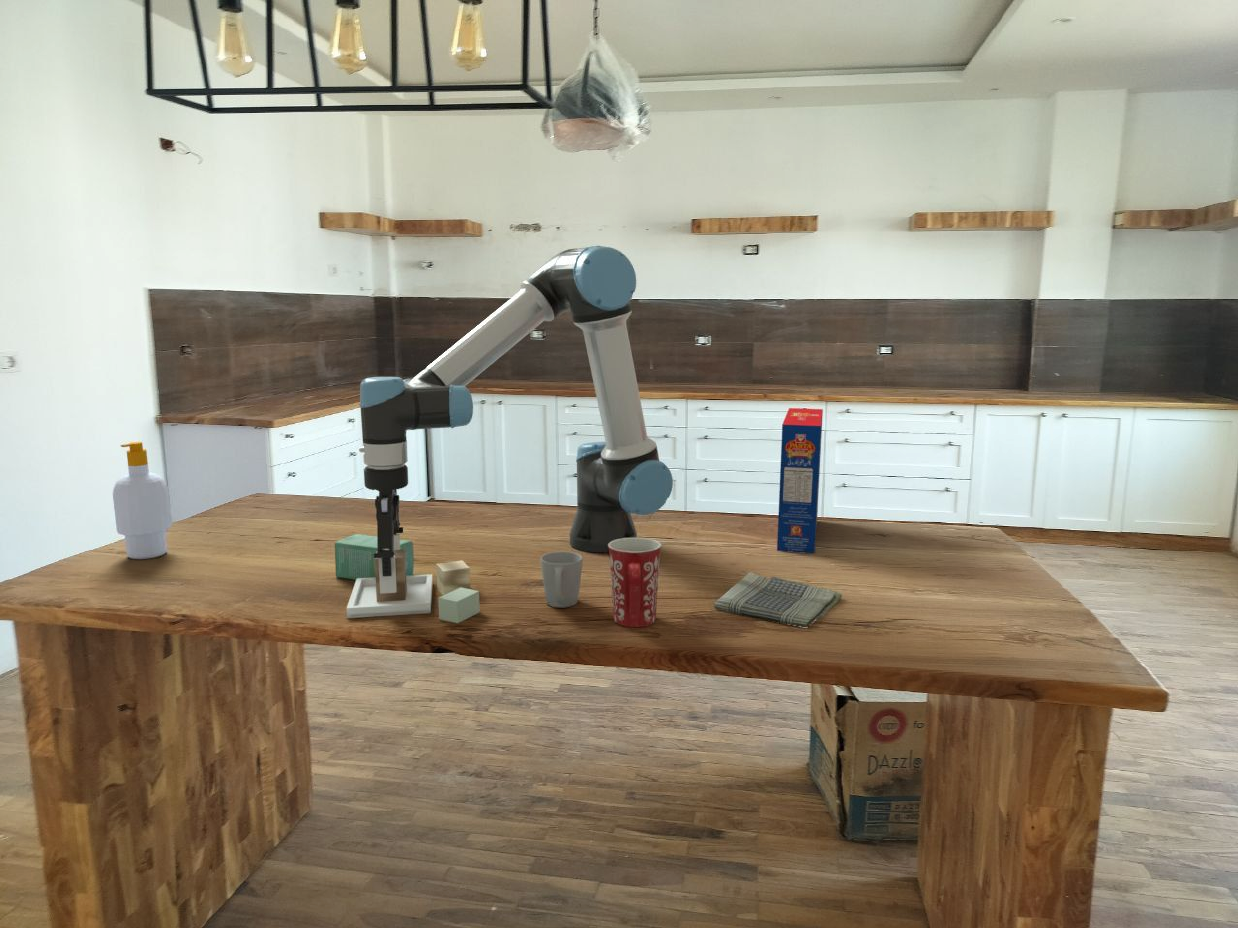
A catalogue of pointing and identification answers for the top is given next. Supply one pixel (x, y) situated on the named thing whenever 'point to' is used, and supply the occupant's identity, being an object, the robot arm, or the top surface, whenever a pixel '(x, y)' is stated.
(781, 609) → the dish towel
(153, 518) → the soap bottle
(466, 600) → the sage block
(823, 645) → the top surface
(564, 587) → the cup
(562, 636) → the top surface
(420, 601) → the tray
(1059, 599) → the top surface
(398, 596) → the walnut block
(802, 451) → the pasta box
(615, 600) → the mug
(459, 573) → the oak block
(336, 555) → the box
